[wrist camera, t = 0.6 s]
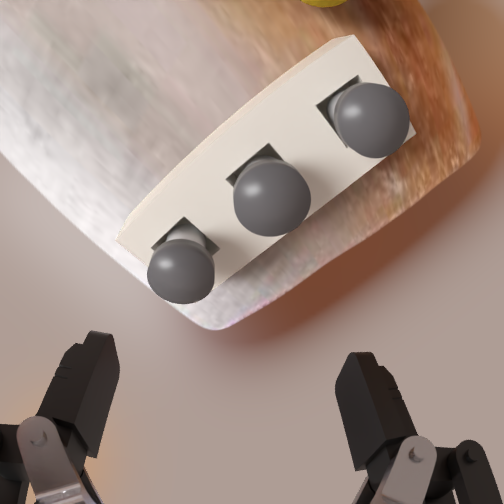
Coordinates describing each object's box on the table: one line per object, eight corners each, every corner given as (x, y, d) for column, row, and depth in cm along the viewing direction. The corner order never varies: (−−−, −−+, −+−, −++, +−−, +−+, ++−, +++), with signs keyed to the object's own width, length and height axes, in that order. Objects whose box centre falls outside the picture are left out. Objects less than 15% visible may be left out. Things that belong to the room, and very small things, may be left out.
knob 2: (340, 151, 25) (367, 172, 20) (304, 103, 22) (325, 112, 18) (385, 117, 23) (420, 131, 18) (352, 67, 21) (385, 69, 16)
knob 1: (187, 274, 30) (183, 313, 25) (147, 240, 28) (134, 277, 23) (227, 241, 28) (228, 279, 24) (185, 203, 26) (177, 236, 21)
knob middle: (259, 215, 27) (267, 249, 23) (217, 174, 25) (217, 201, 20) (306, 178, 26) (325, 205, 21) (267, 132, 23) (279, 149, 19)
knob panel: (197, 273, 35) (195, 303, 30) (128, 215, 30) (115, 240, 26) (389, 122, 27) (416, 133, 23) (332, 38, 22) (353, 34, 18)
